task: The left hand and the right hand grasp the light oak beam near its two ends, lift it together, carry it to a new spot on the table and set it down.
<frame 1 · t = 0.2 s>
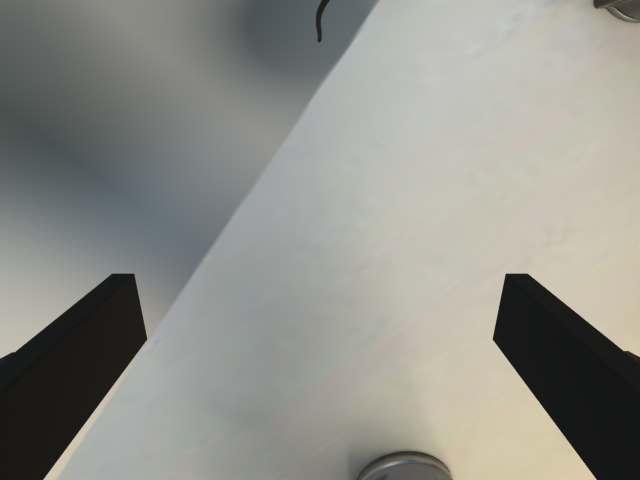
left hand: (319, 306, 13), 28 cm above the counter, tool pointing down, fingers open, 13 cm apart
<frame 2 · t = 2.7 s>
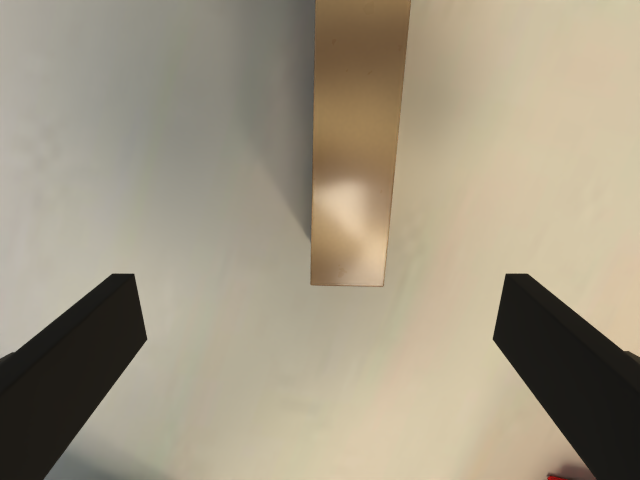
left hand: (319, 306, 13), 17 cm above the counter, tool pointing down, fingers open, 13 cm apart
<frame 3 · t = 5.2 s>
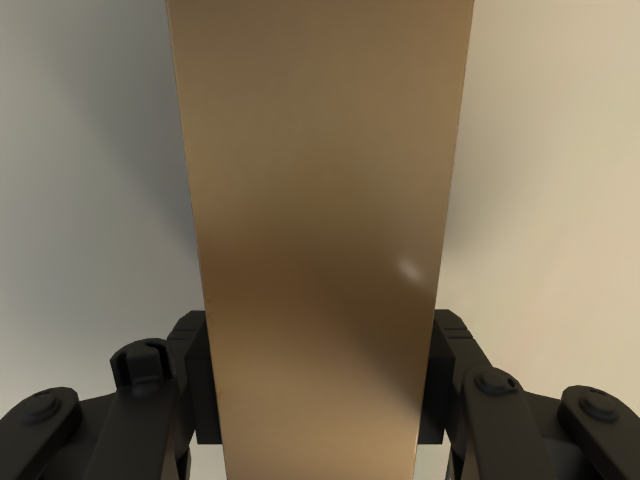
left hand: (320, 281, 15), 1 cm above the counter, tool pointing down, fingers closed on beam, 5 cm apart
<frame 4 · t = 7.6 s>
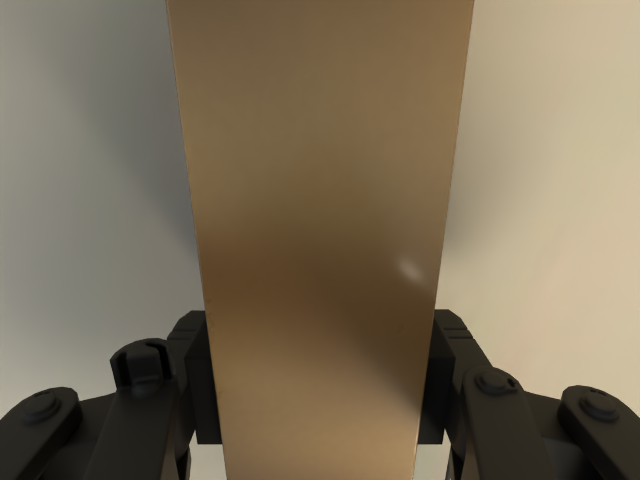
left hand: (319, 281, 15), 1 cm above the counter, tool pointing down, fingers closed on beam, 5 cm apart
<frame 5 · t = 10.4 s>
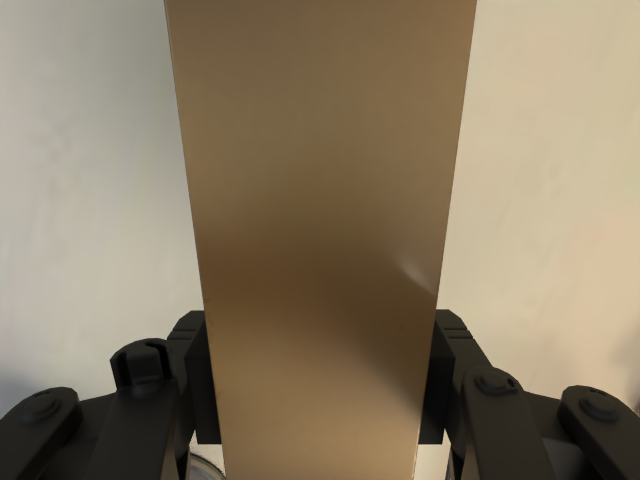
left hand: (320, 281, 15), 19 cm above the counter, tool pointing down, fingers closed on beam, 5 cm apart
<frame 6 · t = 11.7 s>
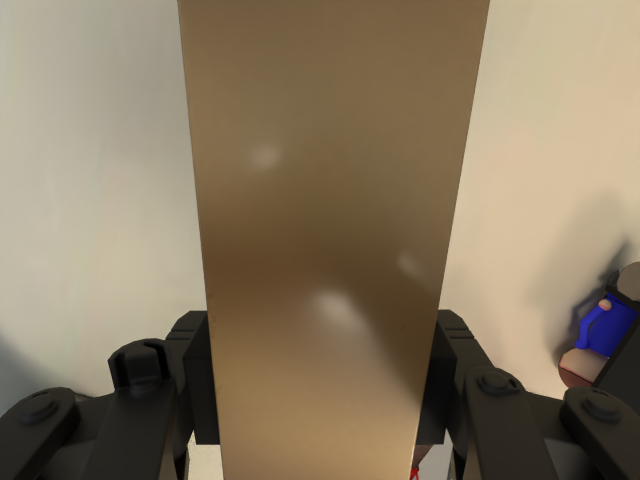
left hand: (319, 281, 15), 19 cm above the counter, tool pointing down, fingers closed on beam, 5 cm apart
toy: (432, 471, 46), on the counter
figurine character: (595, 317, 38), on the counter
when the left hand's fingers open (2 cm above the counter, at t = 16.0 s): beam drops 1 cm, on the counter.
when the right hand's fingers open (4 cm above the counter, at t = 16.2 s): beam stays where it is, on the counter.
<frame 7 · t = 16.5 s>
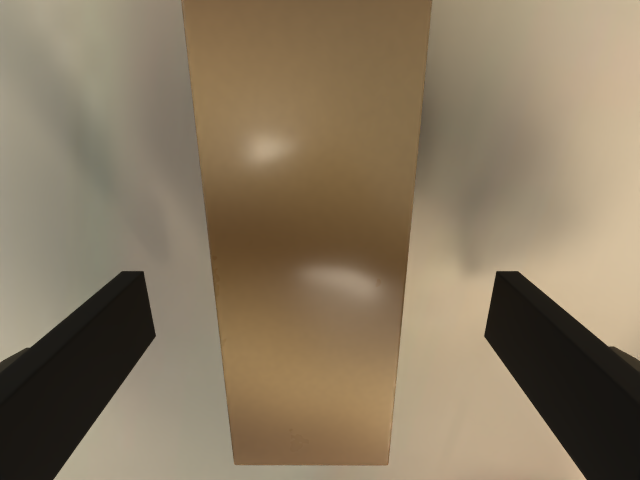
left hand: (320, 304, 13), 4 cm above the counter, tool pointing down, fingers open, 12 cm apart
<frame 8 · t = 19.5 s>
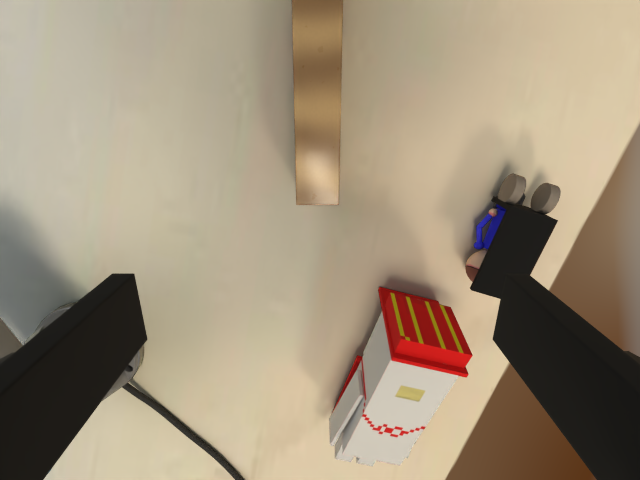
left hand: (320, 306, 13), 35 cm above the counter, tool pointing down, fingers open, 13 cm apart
toy: (380, 366, 57), on the counter
figurine character: (493, 227, 49), on the counter
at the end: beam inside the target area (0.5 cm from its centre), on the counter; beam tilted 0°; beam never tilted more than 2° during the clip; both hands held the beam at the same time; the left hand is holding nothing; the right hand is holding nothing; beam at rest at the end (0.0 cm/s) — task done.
